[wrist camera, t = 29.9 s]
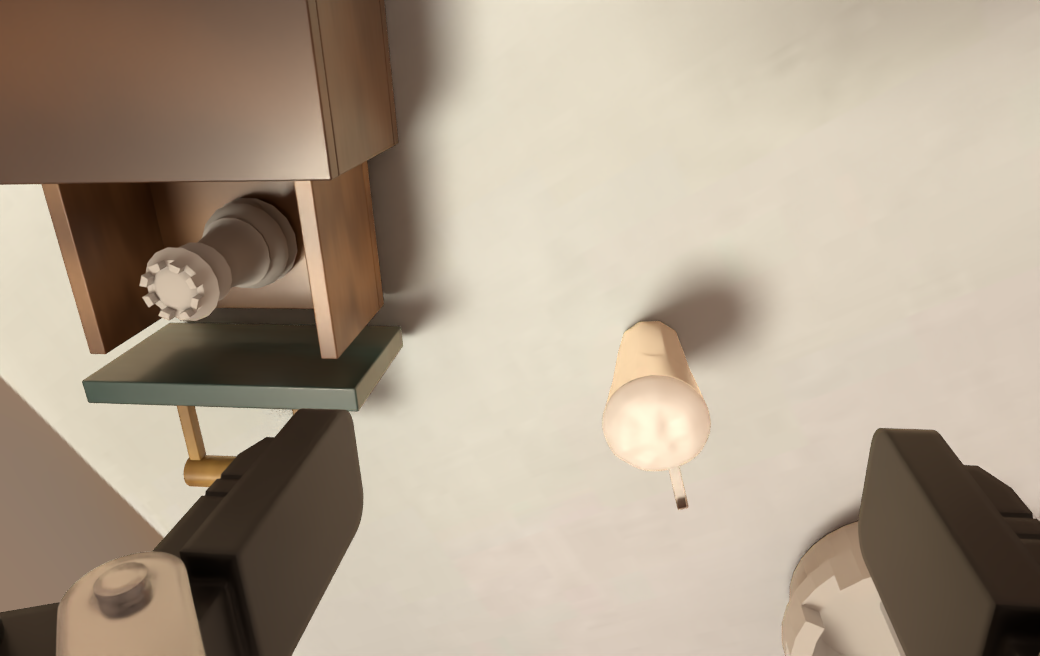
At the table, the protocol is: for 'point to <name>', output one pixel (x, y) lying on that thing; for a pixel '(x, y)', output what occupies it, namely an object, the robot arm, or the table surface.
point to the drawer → (228, 301)
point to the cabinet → (192, 90)
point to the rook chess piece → (221, 260)
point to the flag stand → (836, 603)
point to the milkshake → (655, 405)
